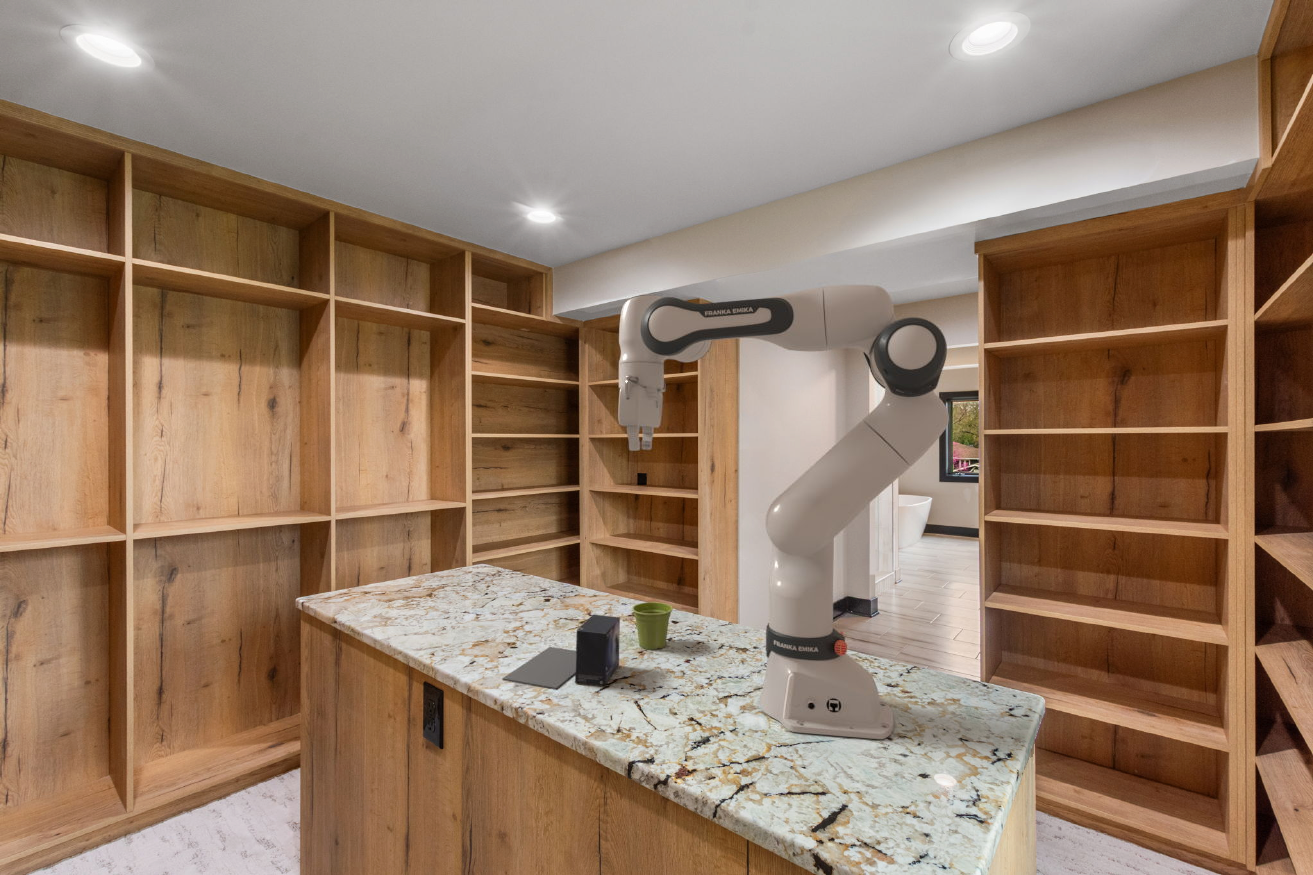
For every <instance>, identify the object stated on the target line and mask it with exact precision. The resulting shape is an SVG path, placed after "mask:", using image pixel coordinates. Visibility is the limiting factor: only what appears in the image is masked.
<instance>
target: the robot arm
mask: <svg viewBox="0 0 1313 875" xmlns="http://www.w3.org/2000/svg"><path fill="white" fill-rule="evenodd" d="M618 328H619V331H618V343H619V349H620V356H619V357H620V358H619V360H618V389H619V395H618V396H619V397H618V411H617V412H618V413H617V416H618V417H617V419H618V424H619V425H620V426H623V427H626V435H627V438H628V450H629V451H631V452H634V451H637V452H638V451H640V450H641V449H642V450H645V451H646V450H647V451H650V450H651V449H652V448H653V446H652V444H653V442H652V441H653V436H654V433H655V432H654V429H655V428H659V427H660V426H661V423H662V414H663V403H664V402H663V401H664V396H663V393H665V392H666V385H667V384H666V381H665V372H664V369H665V368H664V365H665V364H664V362H665V361H667V360H674V361H677V362H680V363H691V362H697V361H698V360H701V359H702V358H704V357H705V356H706V355H707V354H708V353H709V350H710V349H711V347H712V344H713V341H720V340H722V341H723V340H734V339H735V340H736V339H755V340H756V339H757V340H760V341H765V342H768V343H771V344H774V345H775V346H779V347H780V348H783V349H785V350H789V351H794V352H795V351H796V352H824V351H834V350H841V349H843V350H845V349H846V350H847V349H855V350H859V351H862V352H863V355H864V358H865V361H866V362H867V363H866V364H867V365H868V367H869V368H868V369H869V371H870V373H871V375H872V377H873V379H874V380H875V382H876V383H877V384H878V385H879V386H880V387H881V388H882V389H884V390H885V391H884V394H883V397H882V399H881V401H880V402H879V404H877V406H876V407H875V408H874V409H873V410H872V411H871V412H869V414H867V415H866V416H865V417H864V418H863V419H862V420H861V421H859V422H858V423H857V424H856V425H855V426H854V427H853V428H852V429H851V430H849V431H848V432H847V433H846V434H845V435H844V436H843V437H842V438H841V439H840V440H839V441H838V442H836V443H835V444H834V445H833V446H832V447H831V448H830V449H829V450H828V451H826V452H825V454H824V455H822V456H821V457H820V458H819V459H818V460H816V462H815V463H813V465H812V466H810V467H809V468H808V469H807V470H805V472H803V473H802V475H800V477H798V478H797V479H796V480H795V481H794V482H792V484H791V485H789V486H788V487H787V488H786V489H785V490H784V491H783V492H782V493H780V494H779V495H778V496H777V497H776V498H775V499H774V500H773V501H772V502H771V503H770V505H769V507H768V510H767V511H766V512H767V513H766V515H765V529H766V532H767V535H768V538H769V540H770V541H771V544H772V545H771V561H770V570H769V571H770V572H769V581H768V585H769V586H768V588H769V589H768V599H769V600H768V623H767V625H766V629H765V651H766V652H765V654H766V657H767V660H766V669H765V676H764V681H763V687H762V690H761V694H760V696H759V698H758V699H759V700H758V705H759V707H760V709H761V710H762V711H763V712H764V713H765V714H766V715H768V716H769V717H771V718H773V719H775V720H776V721H778V722H780V723H781V724H782V725H783V726H784V727H785V728H786V729H787V730H788V731H790V732H791V733H792V732H793V733H798V734H799V733H802V734H815V735H822V736H823V735H825V736H836V737H837V736H839V737H846V738H847V737H849V738H861V739H862V738H863V739H873V740H875V739H876V740H884V739H886V738H888V737H889V736H890V735H891V734H892V732H893V730H894V727H895V720H894V714H893V711H892V708H891V706H890V705H889V704H888V702H886V701H885V700H884V699H882V698H881V697H880V695H879V689H878V686H877V684H876V681H875V679H874V677H873V676H872V674H871V672H869V671H868V670H867V669H866V668H864V667H863V666H862V665H861V664H859V663H858V662H857V661H856V660H855V659H854V658H852V657H851V656H850V655H849V654H848V653H847V652H848V645H847V642H846V637H845V636H844V633H843V631H842V630H840V632H839V631H838V630H836V629H835V628H834V561H835V560H834V554H835V553H834V551H835V550H834V548H835V538H836V536H838V535H839V534H840V533H841V532H842V531H843V530H844V529H845V528H846V527H847V526H848V525H849V524H851V522H852V521H853V520H854V519H855V518H857V517H858V515H860V513H862V511H864V510H865V509H866V508H867V506H869V504H870V503H871V502H872V501H874V500H875V499H876V498H877V497H878V496H879V495H880V494H882V492H883V491H885V490H886V489H887V488H888V487H890V486H891V484H893V483H894V482H895V481H896V480H897V479H898V478H900V477H901V476H903V475H904V473H906V472H907V471H908V470H909V469H910V468H911V467H912V466H914V465H915V463H916V462H918V461H919V460H920V459H921V458H922V457H923V456H924V455H925V454H926V453H927V452H928V451H929V449H930V448H931V447H932V446H933V445H934V444H935V443H936V441H938V439H939V438H940V437H941V435H942V434H943V433H944V431H946V429H947V427H948V426H949V423H950V416H949V411H948V409H947V406H946V404H945V403H944V402H943V400H942V399H941V398H940V397H939V396H938V395H937V393H935V392H934V390H935V389H936V388H938V384H939V383H940V378H941V375H942V371H943V369H944V366H945V362H946V359H947V355H948V354H947V353H948V345H947V340H946V337H945V335H944V333H943V332H942V330H941V329H940V327H939V326H938V325H936V324H935V323H934V322H932V321H930V320H928V319H926V318H922V317H917V316H913V317H902V318H899V319H898V318H896V315H895V308H894V302H893V299H892V298H891V296H890V294H889V293H888V291H887V290H886V289H884V288H883V287H881V286H879V285H869V284H843V285H841V284H839V285H830V286H823V287H822V286H821V287H815V288H810V289H804V290H799V291H794V292H790V293H786V294H780V295H779V294H778V295H774V296H768V297H763V298H754V299H741V300H739V299H738V300H729V301H721V302H720V301H719V302H708V303H706V302H705V303H694V302H690V301H687V300H683V299H681V298H677V297H672V296H671V297H669V296H666V297H662V298H661V297H660V296H658V295H656V294H641V295H635V296H633V297H631V298H629V299H628V300H627V301H625V302H624V303H623V305H622V307H621V312H620V320H619V327H618ZM640 428H641V429H642V430H641V431H642V439H641V441H640V433H639V432H640Z"/></svg>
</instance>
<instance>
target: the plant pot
mask: <svg viewBox="0 0 1313 875" xmlns="http://www.w3.org/2000/svg"><path fill="white" fill-rule="evenodd" d="M673 608H674V607H673V606H672V605H671V604H670V603H669V604H668V603H666V602H656V601H653V602H652V601H651V602H649V601H648V602H639V603H636V604H634V605H633V606H632V607H631V610H632V612H633V613H634V614H633V615H634V618H635V623H636V630H637V638H638V644H639V646H640V647H641V648H642V649H645V650H652V651H653V650H657V649H659V648H660V649H663V648H665V647H666V645H667V638H668V630H669V622H670V617H671V613H672V612H673Z"/></svg>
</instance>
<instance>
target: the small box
mask: <svg viewBox="0 0 1313 875" xmlns="http://www.w3.org/2000/svg"><path fill="white" fill-rule="evenodd" d="M620 620H621V618H620V617H619V616H609V615H602V614H601V615H599V614H592V615H591V616H590V617H589V618H588V619H587V620H586V621H585V622H584V623H583V624H581V625H580V626H579V627H578V628H577V629H576V636H575V637H576V640H575V642H576V644H575V645H576V646H575V648H576V649H575V651H576V674H574V675H575V678H574V683H575V684H581V685H589V686H598V687H605V686H606V684H608V682H609V681H610V679H611V678H612V677H613V675H614V673H616V671H617V669H618V668H619V667H620V636H621V635H620V631H621V628H620V624H621V621H620Z"/></svg>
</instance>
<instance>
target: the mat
mask: <svg viewBox="0 0 1313 875" xmlns="http://www.w3.org/2000/svg"><path fill="white" fill-rule="evenodd" d="M575 674H576V650H572V649H566V648H561V647H560V648H559V647H553V646H549V647H547V648H545V649H544V650H543V651H541V652H540V653H538V654H537V655H535V656H534V657H532V658H530V659H529V660H528V661H526V662H525V663H523V664H521V665H520V666H519V667H517V668H516V669H514V670H513V671H511V672H509V673H508V674H507V675H505V676H503V677H502V679H501V680H503V681H507V682H511V681H512V682H511V683H517V684H518V683H519V684H524V685H528V686H529V685H530V686H534V687H541V688H546V689H553V690H558V689H559V688H561V686H563V684H565V683H566V682H567V681H569V679H572V677H573V676H574V675H575Z"/></svg>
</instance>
